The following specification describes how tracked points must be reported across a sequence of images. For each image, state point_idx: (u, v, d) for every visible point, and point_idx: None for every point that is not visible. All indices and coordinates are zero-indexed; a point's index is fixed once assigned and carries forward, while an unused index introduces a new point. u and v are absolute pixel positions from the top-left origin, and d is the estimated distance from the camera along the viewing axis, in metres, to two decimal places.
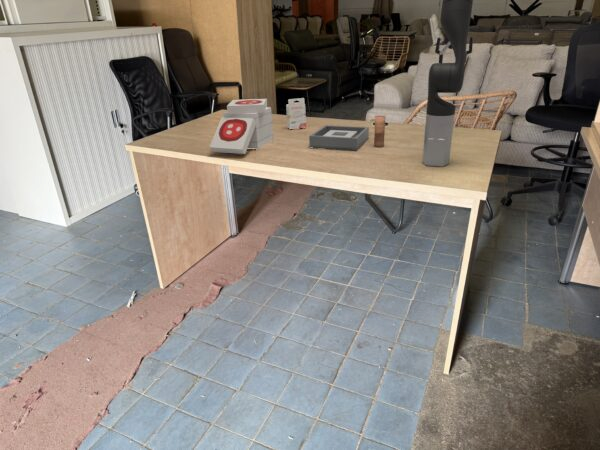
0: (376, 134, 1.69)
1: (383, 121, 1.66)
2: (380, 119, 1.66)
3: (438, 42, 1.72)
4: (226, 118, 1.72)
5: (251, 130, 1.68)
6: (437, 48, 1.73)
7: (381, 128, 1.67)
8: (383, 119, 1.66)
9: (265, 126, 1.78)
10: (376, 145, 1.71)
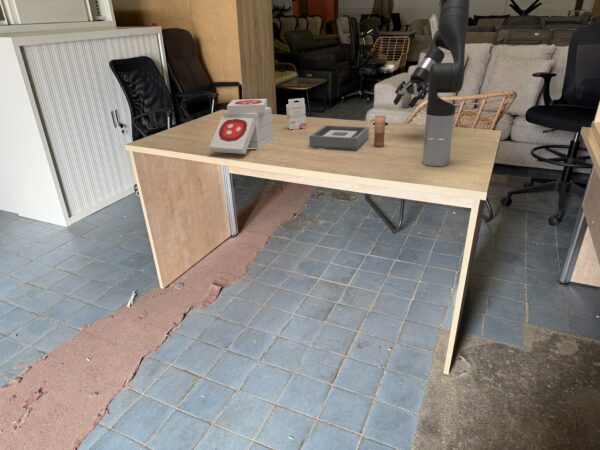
0: (376, 134, 1.69)
1: (383, 121, 1.66)
2: (380, 119, 1.66)
3: (401, 84, 1.76)
4: (226, 118, 1.72)
5: (251, 130, 1.68)
6: (398, 88, 1.76)
7: (381, 128, 1.67)
8: (383, 119, 1.66)
9: (265, 126, 1.78)
10: (376, 145, 1.71)
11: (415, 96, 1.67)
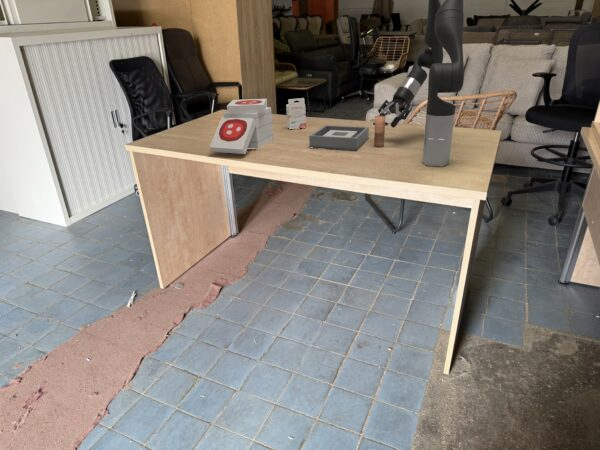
0: (376, 134, 1.69)
1: (383, 121, 1.66)
2: (380, 119, 1.66)
3: (384, 103, 1.74)
4: (226, 118, 1.72)
5: (251, 130, 1.68)
6: (381, 108, 1.74)
7: (381, 128, 1.67)
8: (383, 119, 1.66)
9: (265, 126, 1.78)
10: (376, 145, 1.71)
11: (397, 116, 1.66)
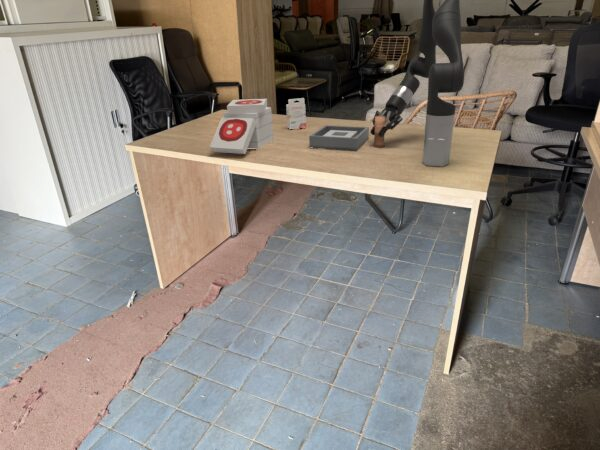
0: (376, 134, 1.69)
1: (383, 121, 1.66)
2: (380, 119, 1.66)
3: (376, 114, 1.73)
4: (226, 118, 1.72)
5: (251, 130, 1.68)
6: (374, 118, 1.72)
7: (381, 128, 1.67)
8: (383, 119, 1.66)
9: (265, 126, 1.78)
10: (376, 145, 1.71)
11: (384, 126, 1.66)
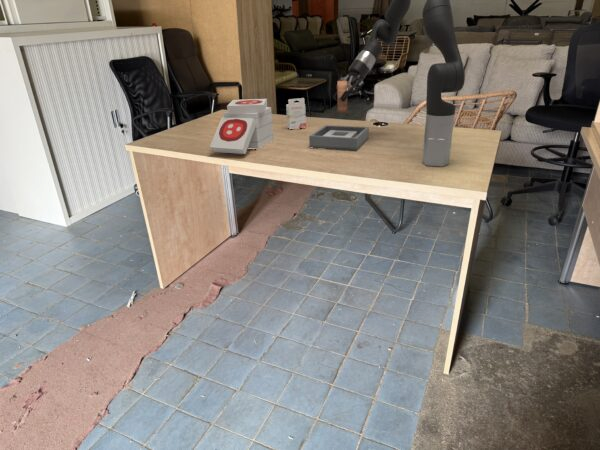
0: (339, 99, 1.70)
1: (345, 85, 1.68)
2: (342, 83, 1.67)
3: (340, 79, 1.74)
4: (226, 118, 1.72)
5: (252, 130, 1.68)
6: None
7: None
8: (345, 83, 1.67)
9: (265, 126, 1.78)
10: (339, 110, 1.72)
11: (346, 90, 1.68)
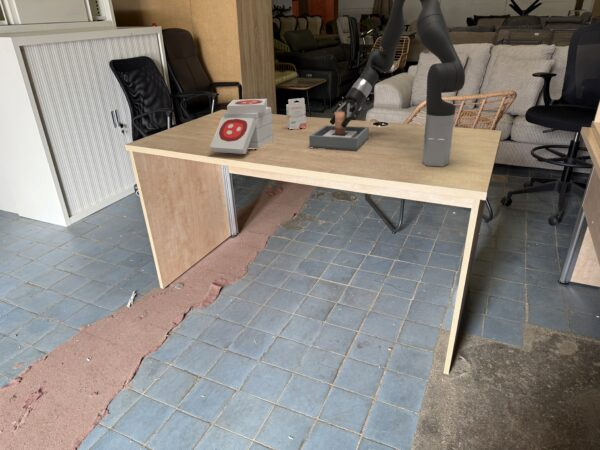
0: (336, 129, 1.75)
1: (342, 116, 1.73)
2: (339, 114, 1.72)
3: (337, 104, 1.79)
4: (226, 118, 1.72)
5: (252, 130, 1.68)
6: (335, 109, 1.79)
7: (341, 123, 1.74)
8: (342, 114, 1.72)
9: (265, 126, 1.78)
10: None
11: (347, 116, 1.71)
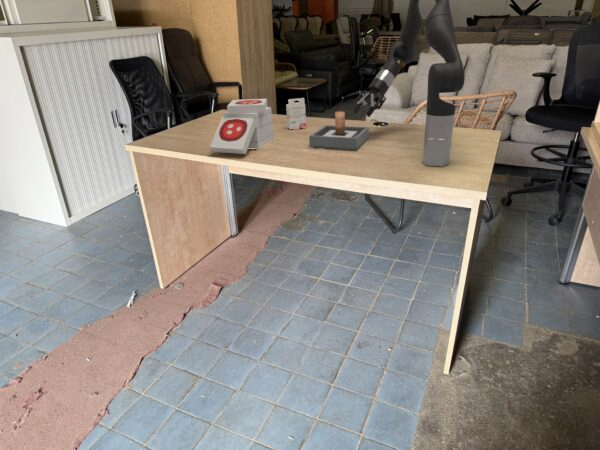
0: (336, 129, 1.75)
1: (343, 116, 1.73)
2: (340, 114, 1.72)
3: (361, 94, 1.84)
4: (226, 118, 1.72)
5: (252, 130, 1.68)
6: (357, 98, 1.84)
7: (341, 123, 1.74)
8: (343, 114, 1.72)
9: (265, 126, 1.78)
10: None
11: (372, 106, 1.76)
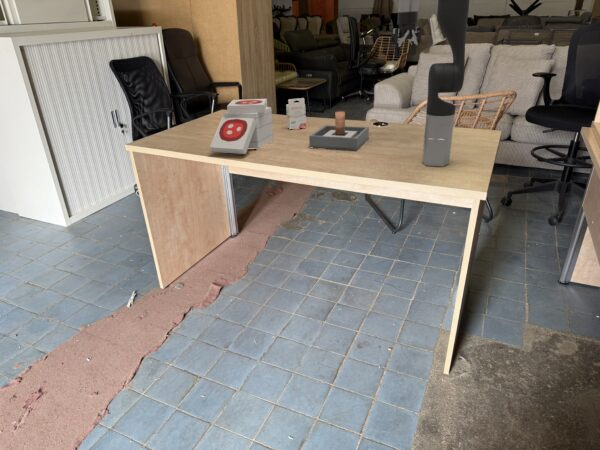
0: (337, 129, 1.75)
1: (343, 116, 1.73)
2: (340, 114, 1.72)
3: (397, 33, 1.61)
4: (226, 118, 1.72)
5: (252, 130, 1.68)
6: (396, 40, 1.62)
7: (341, 123, 1.74)
8: (343, 114, 1.72)
9: (265, 126, 1.78)
10: None
11: (416, 44, 1.68)
